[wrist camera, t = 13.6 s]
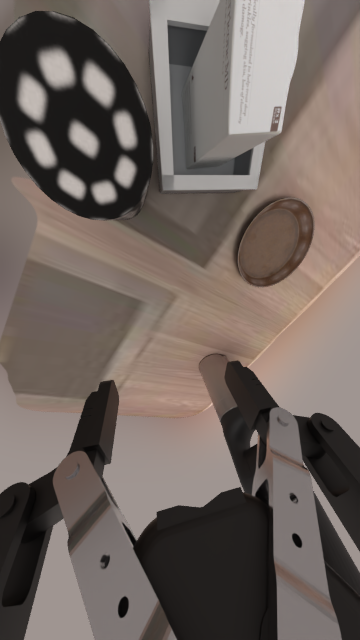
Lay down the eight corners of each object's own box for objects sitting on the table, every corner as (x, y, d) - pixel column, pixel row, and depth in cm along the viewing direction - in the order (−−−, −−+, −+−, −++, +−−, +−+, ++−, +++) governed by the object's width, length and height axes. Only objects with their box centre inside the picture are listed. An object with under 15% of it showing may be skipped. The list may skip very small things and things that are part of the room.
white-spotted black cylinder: (153, 181, 27) (176, 119, 10) (132, 229, 30) (123, 243, 13) (101, 138, 23) (5, -70, 6) (83, 198, 26) (-16, 162, 9)
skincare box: (181, 92, 22) (234, -71, 10) (222, 90, 23) (321, -62, 10) (186, 173, 26) (226, 134, 14) (220, 170, 27) (286, 130, 15)
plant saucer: (281, 285, 44) (290, 289, 41) (223, 281, 39) (228, 286, 37) (317, 206, 35) (331, 205, 32) (246, 191, 30) (256, 189, 28)
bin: (252, 61, 22) (288, 10, 17) (235, 194, 30) (256, 189, 25) (145, 47, 20) (148, -17, 14) (158, 195, 28) (163, 190, 22)
